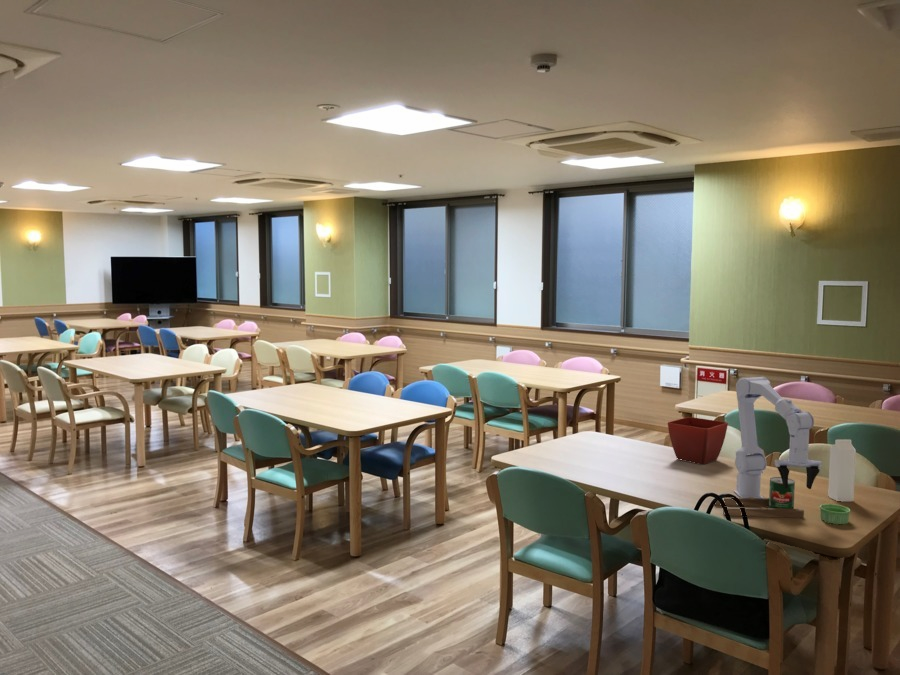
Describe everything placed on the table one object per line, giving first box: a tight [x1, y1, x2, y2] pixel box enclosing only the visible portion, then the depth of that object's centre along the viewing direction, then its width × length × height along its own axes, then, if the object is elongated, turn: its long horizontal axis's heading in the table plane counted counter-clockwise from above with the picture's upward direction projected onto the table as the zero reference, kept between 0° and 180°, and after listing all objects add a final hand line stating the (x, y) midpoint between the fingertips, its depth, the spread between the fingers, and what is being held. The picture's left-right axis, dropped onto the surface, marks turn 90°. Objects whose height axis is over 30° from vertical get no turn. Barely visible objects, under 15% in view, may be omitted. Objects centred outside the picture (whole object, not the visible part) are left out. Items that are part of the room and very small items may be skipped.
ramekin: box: [819, 503, 851, 525], centre depth 239 cm, size 9×9×4 cm
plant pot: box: [667, 416, 729, 465], centre depth 316 cm, size 19×19×17 cm
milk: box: [827, 438, 857, 502], centre depth 261 cm, size 6×6×22 cm
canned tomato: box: [768, 476, 796, 509], centre depth 248 cm, size 8×8×11 cm
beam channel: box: [714, 497, 805, 518], centre depth 249 cm, size 13×26×3 cm, turn 86°
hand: (797, 487), depth 242 cm, fingers open, 7 cm apart
